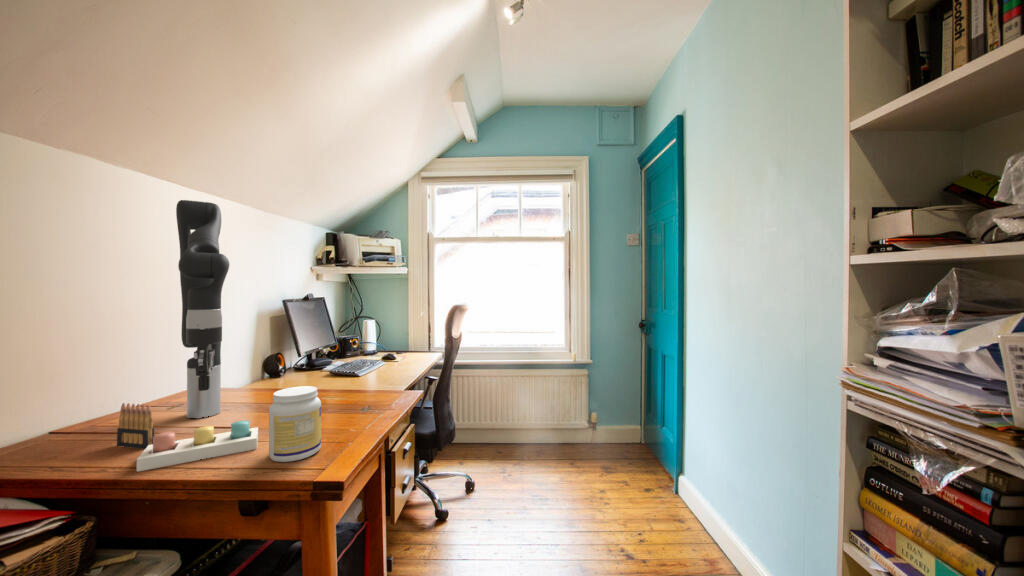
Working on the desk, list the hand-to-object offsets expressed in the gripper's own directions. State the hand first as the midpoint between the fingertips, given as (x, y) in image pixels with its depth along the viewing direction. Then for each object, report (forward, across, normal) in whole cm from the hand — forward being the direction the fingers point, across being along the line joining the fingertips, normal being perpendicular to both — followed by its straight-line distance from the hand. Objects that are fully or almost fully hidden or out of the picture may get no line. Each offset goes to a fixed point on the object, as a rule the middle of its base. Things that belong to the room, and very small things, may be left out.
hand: (204, 389), depth 101 cm
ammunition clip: (+17, -16, -17) cm, 29 cm away
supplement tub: (+17, +14, +21) cm, 31 cm away
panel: (+17, 0, 0) cm, 17 cm away
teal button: (+15, 0, +8) cm, 17 cm away
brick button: (+15, 0, -8) cm, 17 cm away
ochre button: (+15, 0, 0) cm, 15 cm away
